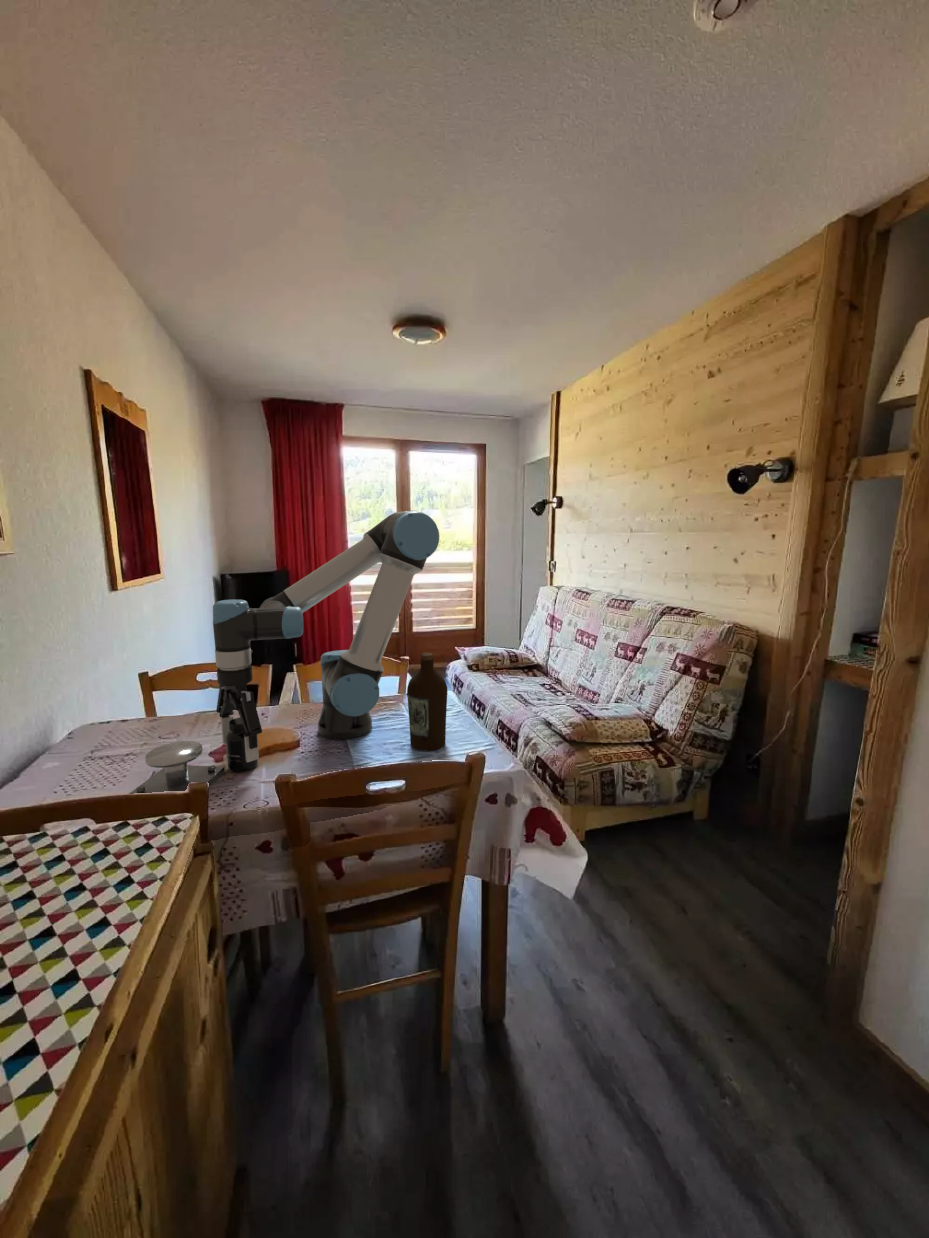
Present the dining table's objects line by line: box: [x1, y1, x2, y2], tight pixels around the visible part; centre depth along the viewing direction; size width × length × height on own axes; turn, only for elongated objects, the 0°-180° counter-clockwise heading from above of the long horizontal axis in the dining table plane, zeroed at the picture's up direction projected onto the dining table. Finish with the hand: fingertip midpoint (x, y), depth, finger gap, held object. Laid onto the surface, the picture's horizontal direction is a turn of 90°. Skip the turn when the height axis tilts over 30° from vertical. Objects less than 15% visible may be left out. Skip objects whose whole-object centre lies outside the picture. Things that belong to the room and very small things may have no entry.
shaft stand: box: [128, 740, 226, 794], centre depth 113 cm, size 14×14×8 cm
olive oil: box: [406, 652, 448, 752], centre depth 133 cm, size 11×11×25 cm
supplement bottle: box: [225, 716, 259, 774], centre depth 121 cm, size 7×7×12 cm
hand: (240, 750), depth 122 cm, fingers open, 13 cm apart
